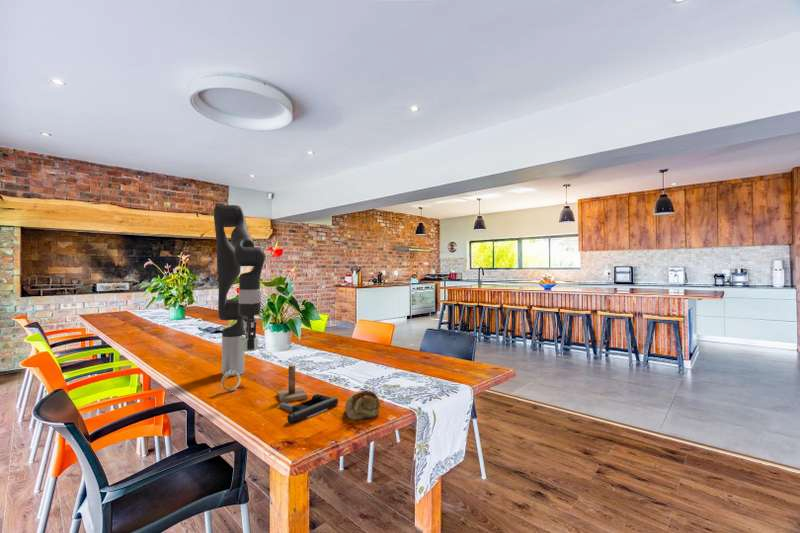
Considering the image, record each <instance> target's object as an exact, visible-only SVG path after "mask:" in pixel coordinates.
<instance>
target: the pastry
mask: <svg viewBox="0 0 800 533" xmlns="http://www.w3.org/2000/svg"><path fill="white" fill-rule="evenodd" d="M380 407H381V401H380V399H379V396H378V395H377V394H376V393H375V392H374V391H370V390H367V389H366V390H364V389H363V390H358V391H354V392H353V393H351V395H349V397H348V399H347V400H346V403H345V413H346V416H347V418H348V419H350V420H353V421H354V420H355V421H357V420H358V421H360V420H363V419H369V418H375V417H376V416H377V415H378V413H379V410H380Z"/></svg>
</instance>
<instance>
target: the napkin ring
mask: <svg viewBox="0 0 800 533" xmlns="http://www.w3.org/2000/svg"><path fill="white" fill-rule="evenodd" d="M241 350H242V351H244V352H253V351H257V350H259V337H258V336H256V338H255V339H254V349H251V350H248V348H247V337H246V338H245V337H244V338H242V339H241Z"/></svg>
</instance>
